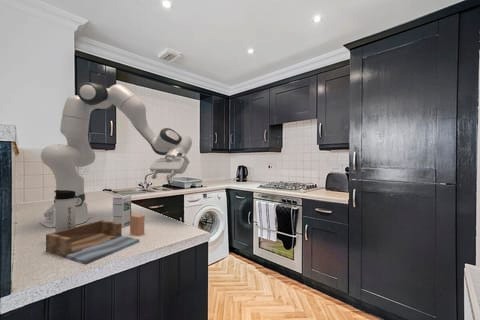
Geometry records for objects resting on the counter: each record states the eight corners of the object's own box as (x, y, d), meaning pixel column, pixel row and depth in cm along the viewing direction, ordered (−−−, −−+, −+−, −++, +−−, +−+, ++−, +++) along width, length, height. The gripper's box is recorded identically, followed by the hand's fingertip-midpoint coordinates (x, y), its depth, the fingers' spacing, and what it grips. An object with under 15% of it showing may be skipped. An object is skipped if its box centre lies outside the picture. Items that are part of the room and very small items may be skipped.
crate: (45, 251, 76) (45, 234, 76) (102, 233, 95) (102, 219, 95) (85, 264, 67) (85, 244, 67) (139, 241, 86) (139, 226, 86)
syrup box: (123, 227, 103) (123, 196, 103) (112, 226, 105) (112, 196, 104) (131, 224, 109) (131, 194, 109) (121, 223, 110) (121, 194, 110)
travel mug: (57, 238, 88) (57, 189, 88) (77, 236, 91) (77, 188, 91) (51, 244, 83) (51, 191, 83) (72, 241, 85) (72, 190, 85)
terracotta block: (130, 234, 94) (130, 215, 94) (135, 232, 97) (136, 214, 97) (138, 236, 92) (138, 217, 92) (144, 234, 95) (144, 215, 95)
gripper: (155, 154, 117) (140, 173, 109) (186, 153, 109) (173, 174, 100) (161, 162, 122) (148, 181, 113) (192, 162, 113) (180, 183, 104)
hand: (160, 178), depth 106 cm, fingers open, 8 cm apart
